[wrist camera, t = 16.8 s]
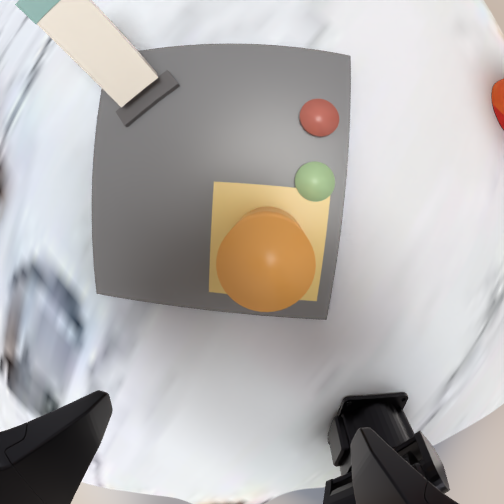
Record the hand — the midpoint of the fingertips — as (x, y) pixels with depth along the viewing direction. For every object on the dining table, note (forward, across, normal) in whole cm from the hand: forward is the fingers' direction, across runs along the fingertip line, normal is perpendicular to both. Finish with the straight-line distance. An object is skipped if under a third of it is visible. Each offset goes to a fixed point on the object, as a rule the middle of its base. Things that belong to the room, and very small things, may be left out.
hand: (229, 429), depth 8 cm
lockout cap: (+10, -1, -4) cm, 11 cm away
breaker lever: (+11, +8, -13) cm, 19 cm away
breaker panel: (+12, +4, -8) cm, 15 cm away
